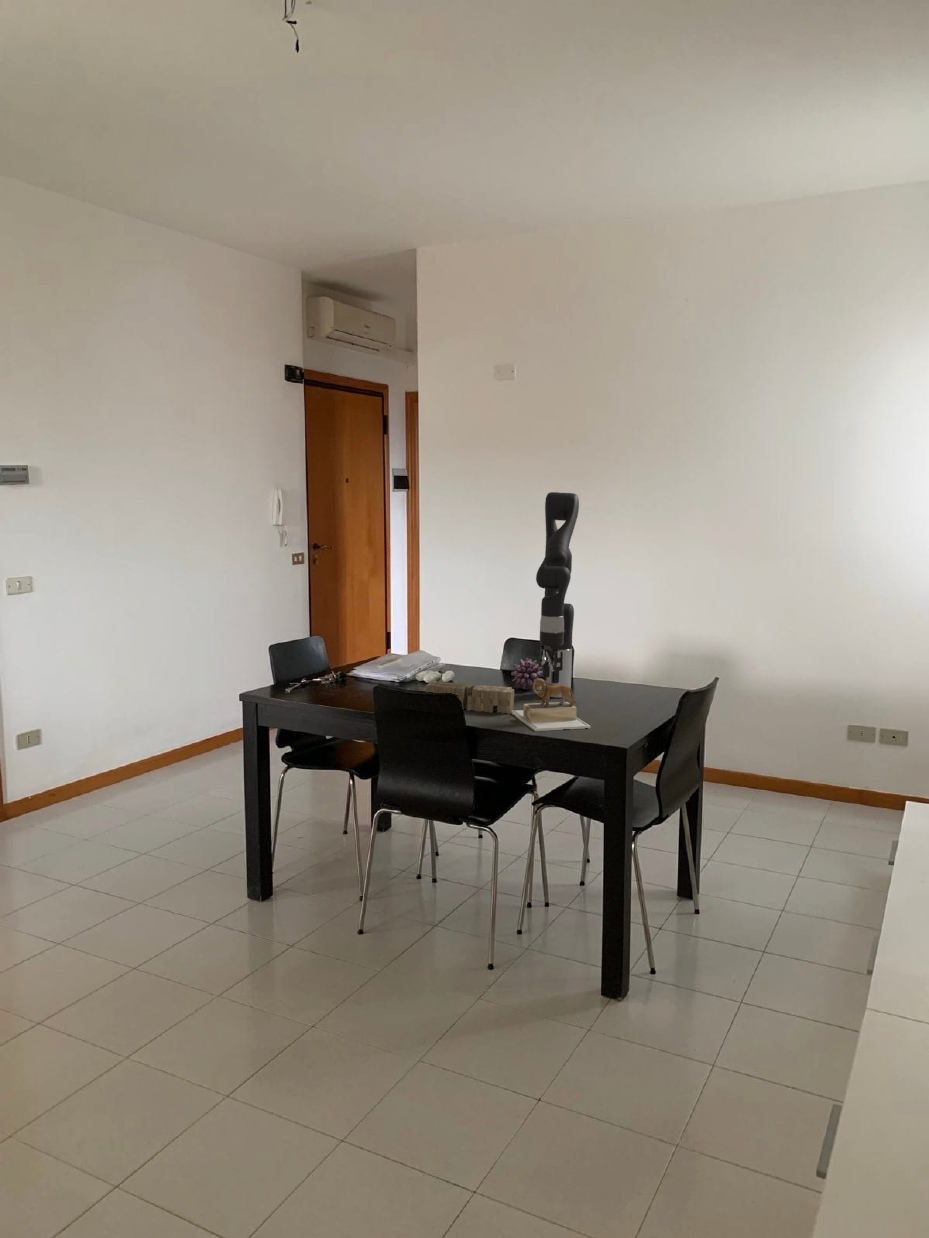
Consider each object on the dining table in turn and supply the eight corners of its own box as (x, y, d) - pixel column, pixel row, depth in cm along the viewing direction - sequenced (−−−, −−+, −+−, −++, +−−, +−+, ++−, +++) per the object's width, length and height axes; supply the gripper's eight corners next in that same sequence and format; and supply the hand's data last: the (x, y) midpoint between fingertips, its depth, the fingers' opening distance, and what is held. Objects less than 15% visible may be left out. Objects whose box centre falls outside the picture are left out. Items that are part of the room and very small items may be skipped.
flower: (542, 687, 341) (543, 655, 340) (542, 693, 329) (543, 661, 328) (511, 685, 342) (512, 654, 341) (510, 692, 331) (511, 660, 329)
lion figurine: (535, 708, 284) (536, 680, 283) (529, 704, 290) (530, 677, 288) (579, 706, 288) (580, 678, 287) (572, 702, 294) (573, 675, 292)
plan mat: (511, 713, 299) (511, 710, 299) (562, 710, 304) (562, 707, 303) (535, 731, 276) (535, 728, 276) (590, 728, 281) (590, 725, 281)
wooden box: (523, 716, 292) (523, 703, 291) (567, 714, 295) (567, 701, 295) (531, 722, 284) (531, 709, 283) (576, 719, 288) (576, 707, 287)
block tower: (514, 712, 305) (432, 702, 313) (516, 687, 304) (433, 678, 312) (509, 717, 298) (424, 707, 306) (510, 692, 297) (426, 682, 304)
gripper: (533, 626, 292) (531, 676, 294) (548, 633, 278) (546, 685, 280) (555, 625, 294) (553, 675, 296) (571, 633, 280) (569, 684, 282)
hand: (550, 680), depth 288 cm, fingers open, 8 cm apart
